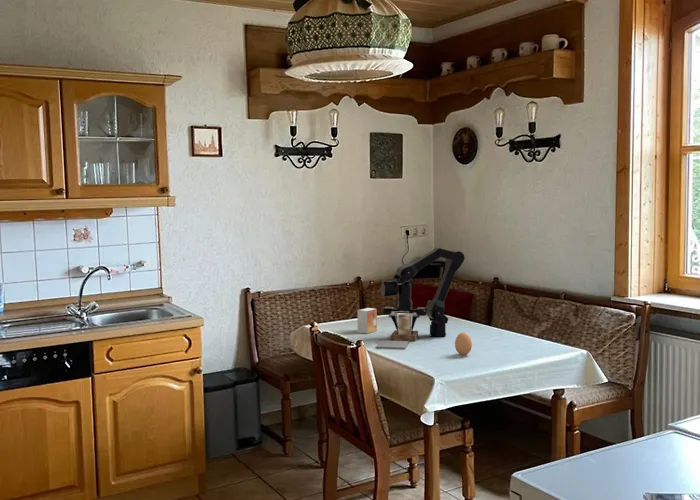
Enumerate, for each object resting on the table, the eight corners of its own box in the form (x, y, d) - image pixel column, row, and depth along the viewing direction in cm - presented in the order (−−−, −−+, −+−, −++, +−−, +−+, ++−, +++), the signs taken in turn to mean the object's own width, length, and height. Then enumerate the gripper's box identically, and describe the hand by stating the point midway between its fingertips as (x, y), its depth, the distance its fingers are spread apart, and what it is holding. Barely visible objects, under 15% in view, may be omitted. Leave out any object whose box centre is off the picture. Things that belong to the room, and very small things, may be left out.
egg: (451, 355, 282) (451, 332, 282) (461, 352, 287) (461, 329, 286) (465, 357, 278) (465, 334, 277) (475, 355, 282) (475, 332, 281)
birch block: (411, 337, 316) (411, 315, 315) (409, 340, 311) (409, 317, 310) (399, 337, 317) (399, 314, 316) (398, 339, 312) (398, 316, 312)
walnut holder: (418, 336, 318) (418, 330, 318) (415, 341, 308) (415, 335, 308) (394, 335, 321) (394, 330, 320) (391, 340, 310) (391, 334, 310)
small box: (367, 334, 325) (367, 311, 324) (357, 332, 329) (357, 309, 328) (377, 331, 332) (377, 308, 331) (367, 329, 335) (367, 307, 334)
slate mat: (408, 343, 305) (408, 341, 305) (405, 349, 293) (405, 347, 293) (381, 342, 307) (381, 340, 307) (376, 348, 296) (376, 346, 296)
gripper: (427, 293, 319) (428, 327, 320) (386, 292, 322) (386, 326, 324) (425, 296, 308) (425, 332, 309) (382, 296, 312) (382, 331, 313)
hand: (404, 330), depth 314 cm, fingers open, 6 cm apart
